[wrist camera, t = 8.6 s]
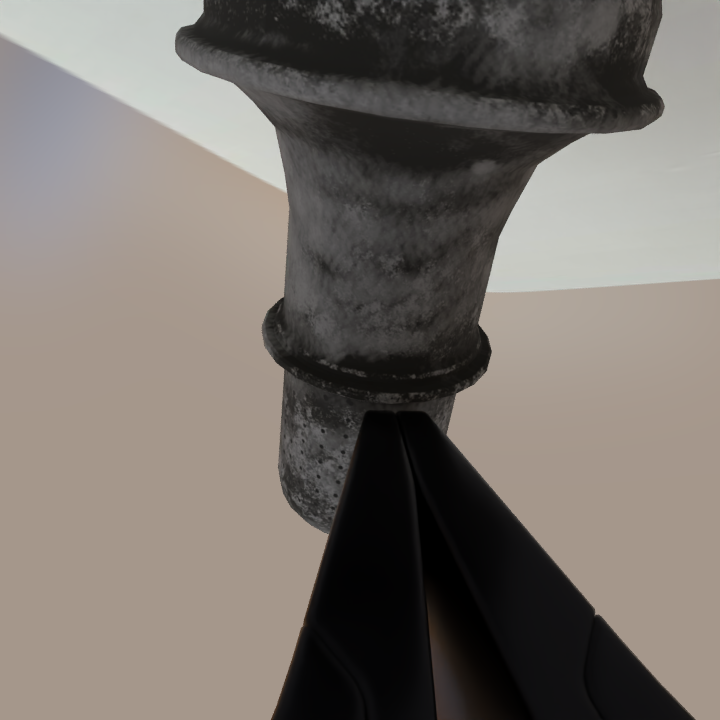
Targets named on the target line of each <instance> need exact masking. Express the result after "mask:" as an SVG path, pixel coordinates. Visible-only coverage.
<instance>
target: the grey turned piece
mask: <svg viewBox="0 0 720 720" xmlns="http://www.w3.org/2000/svg"><path fill="white" fill-rule="evenodd" d="M661 18H662V0H204V13H203V14H202V15H201V17H200V18H199V19H198V20H197V22H196V23H195V24H193V25H189V26H185V27H181V28H180V30H179V31H178V32H177V34H176V40H175V50H176V53H177V54H178V56H179V57H180V58H181V60H183V61H184V62H186V63H188V64H189V65H191V66H193V67H194V68H196V69H197V70H199V71H201V72H203V73H206V74H209V75H212V76H215V77H218V78H221V79H224V80H227V81H229V82H232V83H234V84H235V85H236V86H237V87H239V88H240V89H241V90H242V91H243V92H244V93H245V94H246V95H247V96H248V97H249V98H250V99H251V100H252V101H253V102H254V103H255V104H256V105H257V107H258V108H259V109H260V110H261V111H262V112H263V114H264V115H265V116H266V117H267V118H268V119H269V120H270V122H271V123H272V124H273V125H274V126H275V129H276V134H277V139H278V143H279V148H280V153H281V158H282V163H283V167H284V172H285V179H286V186H287V193H288V201H289V223H288V240H287V257H286V274H285V290H284V297H283V298H281V299H280V300H279V301H278V302H277V303H276V304H275V305H274V306H273V307H272V308H271V309H269V310H268V312H267V314H266V317H265V319H264V322H263V324H262V334H263V340H264V346H265V348H266V349H267V350H268V352H269V353H270V355H271V356H272V357H273V359H274V360H275V362H276V363H277V364H279V365H280V366H281V367H283V368H284V369H285V371H284V387H283V401H282V417H281V432H280V448H279V463H278V469H279V475H280V481H281V486H282V490H283V494H284V495H285V497H286V499H287V501H288V503H289V505H290V506H291V508H293V509H294V510H295V511H296V512H297V513H298V514H299V515H300V516H301V517H302V518H303V519H304V520H305V521H306V522H308V523H309V524H310V525H312V526H314V527H315V528H317V529H319V530H321V531H322V532H324V533H327V534H329V533H330V529H331V526H332V522H333V519H334V516H335V512H336V509H337V505H338V502H339V499H340V495H341V492H342V488H343V485H344V481H345V478H346V475H347V471H348V468H349V464H350V461H351V458H352V454H353V451H354V447H355V444H356V440H357V437H358V434H359V430H360V427H361V423H362V420H363V417H364V414H365V412H366V411H368V410H391V411H393V412H394V413H395V414H396V412H398V411H424V412H426V413H427V414H428V415H429V416H430V417H431V418H432V419H433V420H434V421H435V423H436V424H437V425H438V426H439V427H440V428H441V430H442V431H443V432H444V433H445V434H447V430H448V425H449V421H450V417H451V413H452V409H453V404H454V400H455V396H456V393H458V392H460V391H462V390H464V389H466V388H468V387H470V386H472V385H474V384H475V383H476V382H477V381H478V379H480V378H481V376H482V375H483V374H484V373H485V372H486V371H487V367H488V364H489V360H490V356H491V352H492V351H491V347H490V343H489V340H488V337H487V335H486V334H485V332H484V331H483V330H482V328H481V327H480V326H479V324H478V321H479V317H480V313H481V309H482V305H483V301H484V296H485V292H486V288H487V284H488V280H489V276H490V272H491V268H492V264H493V259H494V255H495V251H496V247H497V243H498V239H499V236H500V234H501V232H502V230H503V228H504V226H505V224H506V221H507V219H508V217H509V215H510V213H511V211H512V209H513V208H514V206H515V204H516V202H517V201H518V199H519V197H520V195H521V193H522V192H523V190H524V188H525V186H526V185H527V183H528V181H529V179H530V177H531V176H532V174H533V172H534V170H535V169H536V167H537V165H538V164H539V163H541V162H542V161H544V160H545V159H547V158H548V157H550V156H552V155H553V154H555V153H556V152H558V151H559V150H561V149H563V148H564V147H566V146H567V145H569V144H570V143H572V142H574V141H576V140H578V139H580V138H582V137H584V136H586V135H588V134H590V133H601V134H606V133H614V132H623V131H631V130H639V129H642V128H644V127H645V126H647V125H649V124H650V123H652V122H654V121H655V120H657V119H658V118H659V117H661V116H662V113H663V110H664V107H665V106H664V103H663V100H662V98H661V97H660V96H659V95H658V93H657V92H656V91H655V90H653V89H650V88H648V87H647V85H646V83H645V80H644V77H643V74H644V71H645V68H646V65H647V62H648V59H649V56H650V52H651V49H652V46H653V43H654V40H655V37H656V34H657V31H658V28H659V25H660V21H661Z"/></svg>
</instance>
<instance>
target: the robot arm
mask: <svg viewBox="0 0 720 720" xmlns="http://www.w3.org/2000/svg"><path fill="white" fill-rule="evenodd" d="M271 720H695V719H694V717H693V716H692V715H691V714H690V713H689V712H688V711H687V710H686V709H685V708H684V707H683V706H682V705H681V704H680V703H679V702H678V701H677V700H676V699H675V698H674V697H673V696H672V695H671V694H670V693H669V692H668V691H667V690H666V689H665V688H664V687H663V686H662V685H661V684H660V682H658V680H657V679H656V678H655V677H654V676H653V675H652V674H651V672H650V671H649V670H648V669H647V668H646V667H645V666H644V665H643V664H642V662H641V661H640V660H639V659H638V658H637V657H636V656H635V655H634V653H633V652H632V651H631V650H630V649H629V648H628V647H627V646H626V644H625V643H624V642H623V641H622V640H621V639H620V638H619V636H618V635H617V634H616V633H615V632H614V631H613V629H612V628H611V627H610V626H609V625H608V624H607V622H606V621H605V620H604V619H603V618H602V617H601V616H600V615H595V609H594V608H593V606H592V605H591V604H590V603H589V602H588V601H587V599H586V598H585V597H584V596H583V595H582V593H581V592H580V591H579V590H578V589H577V588H576V586H575V585H574V584H573V583H572V582H571V581H570V579H569V578H568V577H567V576H566V575H565V574H564V572H563V571H562V570H561V569H560V568H559V567H558V565H557V564H556V563H555V562H554V561H553V560H552V559H551V557H550V556H549V555H548V554H547V553H546V551H545V550H544V549H543V548H542V547H541V545H540V544H539V543H538V542H537V541H536V540H535V539H534V537H533V536H532V535H531V534H530V533H529V532H528V530H527V529H526V528H525V527H524V526H523V524H522V523H521V522H520V521H519V520H518V519H517V517H516V516H515V515H514V514H513V513H512V512H511V510H510V509H509V508H508V507H507V506H506V505H505V503H504V502H503V501H502V500H501V499H500V497H499V496H498V495H497V494H496V493H495V492H494V490H493V489H492V488H491V487H490V486H489V485H488V483H487V482H486V481H485V480H484V479H483V478H482V476H481V475H480V474H479V473H478V472H477V471H476V469H475V468H474V467H473V466H472V465H471V464H470V462H469V461H468V460H467V459H466V458H465V457H464V455H463V454H462V453H461V452H460V451H459V450H458V448H457V447H456V446H455V445H454V444H453V443H452V441H451V440H450V439H449V438H448V437H447V435H446V434H445V433H444V432H443V431H442V430H441V428H440V427H439V426H438V425H437V424H436V423H435V421H434V420H433V419H432V418H431V417H430V416H429V415H428V414H427V413H426V412H424V411H398V412H396V414H395V413H394V412H393V411H391V410H368V411H366V412H365V414H364V417H363V420H362V423H361V427H360V430H359V434H358V437H357V440H356V444H355V447H354V451H353V454H352V458H351V461H350V464H349V468H348V471H347V475H346V478H345V481H344V485H343V488H342V492H341V495H340V499H339V502H338V505H337V509H336V512H335V516H334V519H333V522H332V526H331V529H330V533H329V536H328V540H327V543H326V546H325V550H324V553H323V557H322V560H321V563H320V567H319V571H318V574H317V577H316V581H315V584H314V587H313V591H312V594H311V598H310V601H309V604H308V608H307V612H306V615H305V618H304V623H303V627H302V628H301V630H300V634H299V637H298V641H297V644H296V648H295V651H294V654H293V658H292V661H291V664H290V667H289V670H288V673H287V676H286V679H285V682H284V686H283V688H282V691H281V694H280V697H279V700H278V703H277V706H276V709H275V711H274V714H273V716H272V718H271Z"/></svg>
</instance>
